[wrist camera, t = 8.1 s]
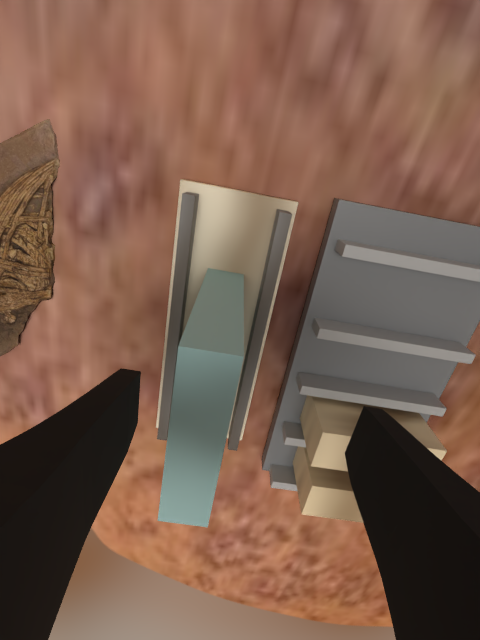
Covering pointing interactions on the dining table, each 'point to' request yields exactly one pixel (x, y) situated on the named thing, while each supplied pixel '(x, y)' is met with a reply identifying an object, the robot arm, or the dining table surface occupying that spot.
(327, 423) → the block
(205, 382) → the teal rectangular block
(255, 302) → the holder
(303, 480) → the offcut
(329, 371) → the rack
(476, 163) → the dining table surface
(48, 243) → the wooden fragment
